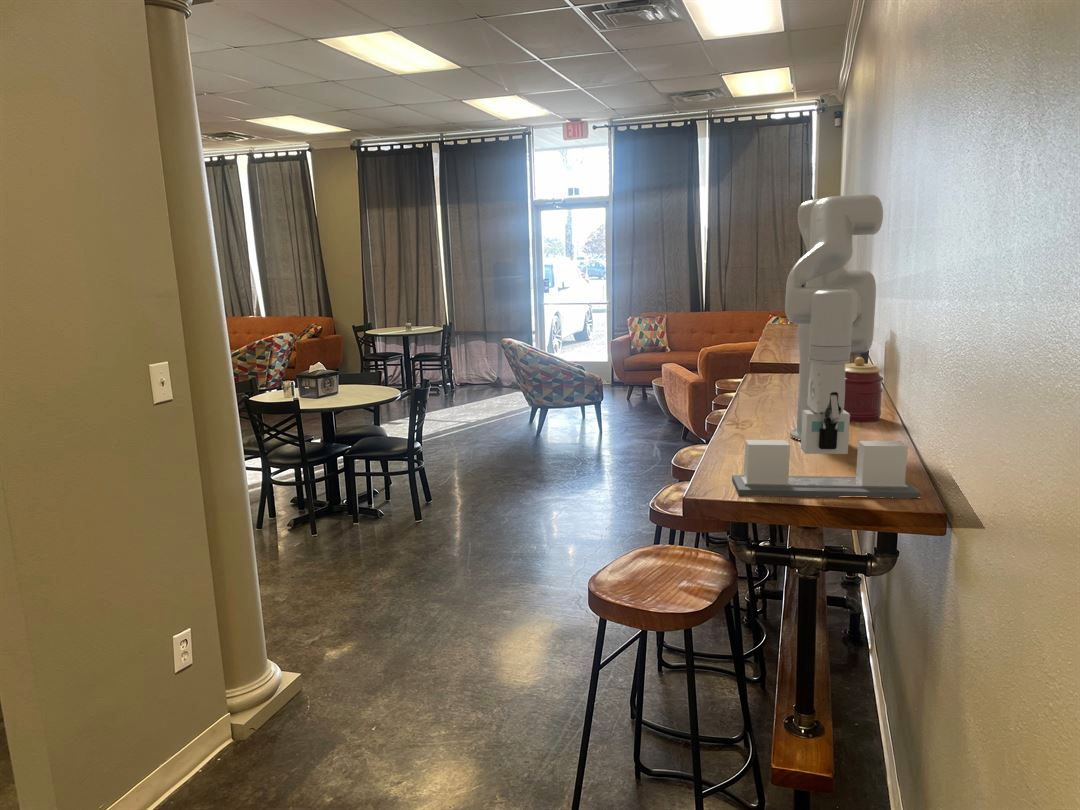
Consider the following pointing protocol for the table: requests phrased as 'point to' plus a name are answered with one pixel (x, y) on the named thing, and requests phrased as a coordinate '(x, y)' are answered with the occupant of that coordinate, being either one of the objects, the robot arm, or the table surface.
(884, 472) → the mounted modules
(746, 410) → the table surface
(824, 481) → the metal rail
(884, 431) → the table surface
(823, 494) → the rail board
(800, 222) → the robot arm
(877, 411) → the canister
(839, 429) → the block
